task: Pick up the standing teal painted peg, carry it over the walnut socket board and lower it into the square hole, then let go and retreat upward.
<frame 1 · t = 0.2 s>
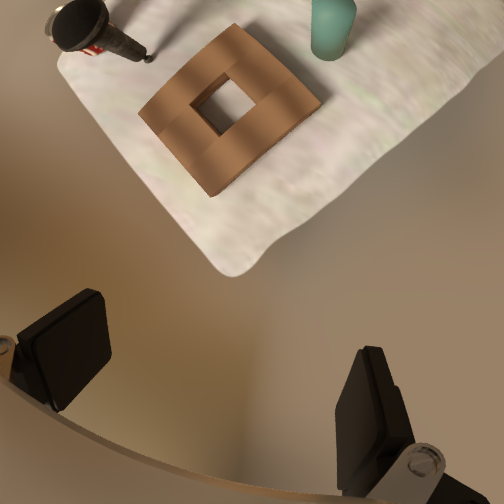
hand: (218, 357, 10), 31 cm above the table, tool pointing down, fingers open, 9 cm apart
peg: (327, 47, 31), on the table
soda can: (103, 40, 35), on the table
microphone: (150, 60, 35), on the table
socket board: (227, 108, 36), on the table
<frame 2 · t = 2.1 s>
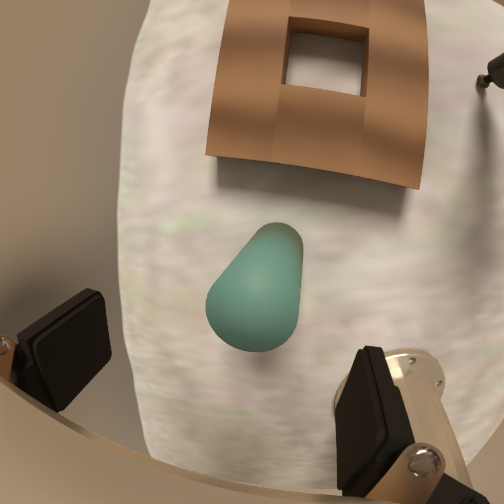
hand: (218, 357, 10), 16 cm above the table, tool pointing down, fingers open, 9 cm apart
peg: (277, 248, 25), on the table
microphone: (479, 83, 17), on the table
socket board: (325, 66, 20), on the table
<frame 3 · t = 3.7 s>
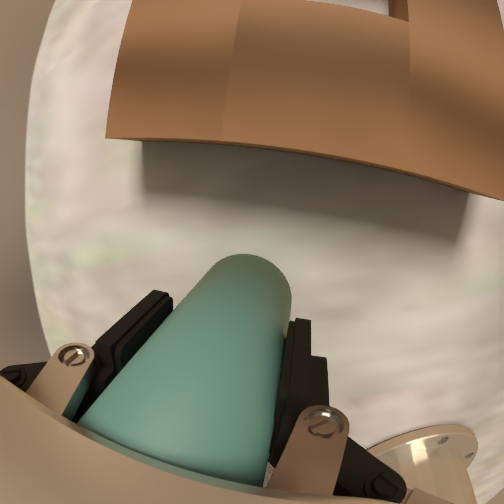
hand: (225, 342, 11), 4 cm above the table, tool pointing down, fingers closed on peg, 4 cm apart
peg: (245, 297, 14), on the table, touching gripper
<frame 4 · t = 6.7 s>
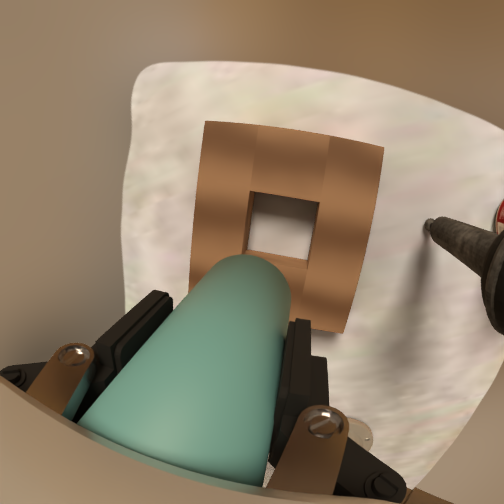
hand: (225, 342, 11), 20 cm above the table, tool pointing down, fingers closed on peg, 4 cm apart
peg: (245, 297, 14), point 16 cm above the table, touching gripper
microphone: (427, 223, 26), on the table
socket board: (281, 224, 29), on the table
when the fingers open (5 cm above the table, at t = 9.7 s): peg stays where it is, resting in socket board.
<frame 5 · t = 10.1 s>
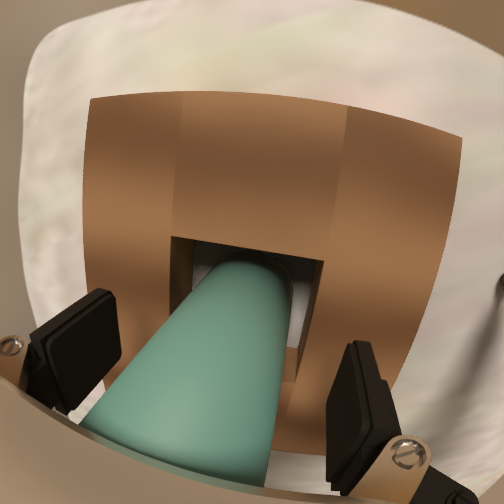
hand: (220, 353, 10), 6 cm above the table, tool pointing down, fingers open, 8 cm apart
peg: (249, 290, 15), resting in socket board
microphone: (503, 276, 13), on the table
socket board: (249, 289, 15), on the table
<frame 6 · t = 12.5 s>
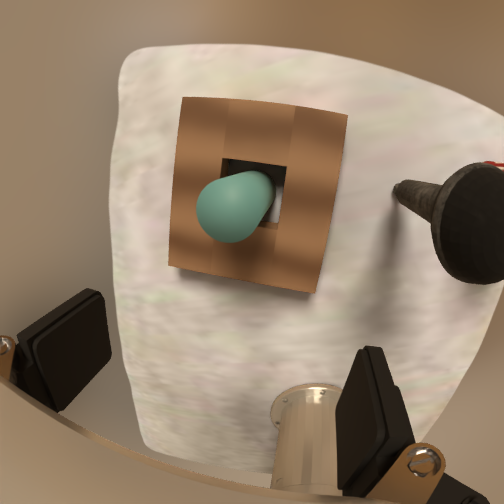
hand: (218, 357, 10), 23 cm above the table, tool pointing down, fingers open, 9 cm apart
peg: (255, 190, 31), resting in socket board
microphone: (396, 188, 28), on the table
socket board: (254, 190, 31), on the table
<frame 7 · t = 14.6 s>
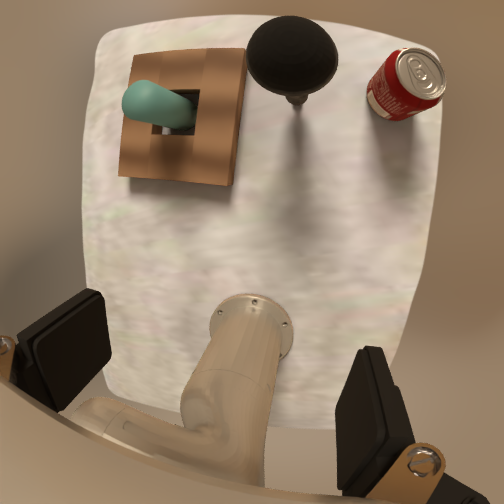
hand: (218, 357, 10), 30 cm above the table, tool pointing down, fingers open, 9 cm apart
peg: (183, 115, 37), resting in socket board
soda can: (389, 97, 32), on the table
microphone: (297, 101, 34), on the table
socket board: (183, 115, 37), on the table
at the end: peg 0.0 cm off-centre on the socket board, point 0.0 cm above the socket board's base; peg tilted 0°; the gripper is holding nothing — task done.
